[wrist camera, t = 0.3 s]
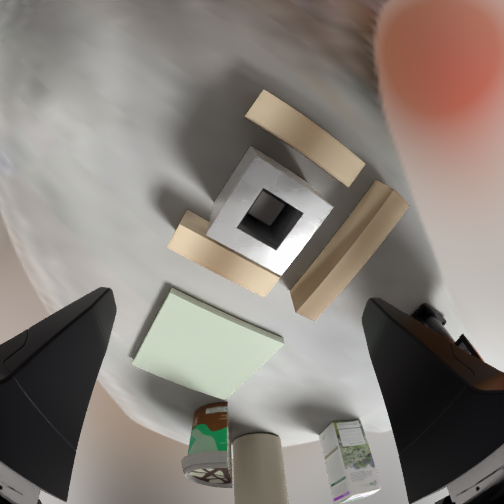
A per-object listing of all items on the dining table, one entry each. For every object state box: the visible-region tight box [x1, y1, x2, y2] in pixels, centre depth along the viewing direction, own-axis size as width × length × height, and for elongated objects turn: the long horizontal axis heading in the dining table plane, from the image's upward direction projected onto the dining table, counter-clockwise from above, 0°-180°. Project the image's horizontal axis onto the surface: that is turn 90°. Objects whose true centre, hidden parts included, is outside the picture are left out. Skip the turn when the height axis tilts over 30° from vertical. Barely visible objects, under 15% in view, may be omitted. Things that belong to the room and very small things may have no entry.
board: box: [132, 288, 284, 400], centre depth 27 cm, size 12×12×1 cm
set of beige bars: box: [167, 90, 410, 321], centre depth 19 cm, size 13×12×4 cm
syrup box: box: [319, 420, 382, 504], centre depth 32 cm, size 6×6×14 cm
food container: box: [181, 402, 232, 488], centre depth 29 cm, size 12×6×10 cm, turn 179°
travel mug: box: [233, 433, 289, 504], centre depth 30 cm, size 8×8×18 cm
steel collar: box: [206, 146, 333, 275], centre depth 17 cm, size 5×5×6 cm
